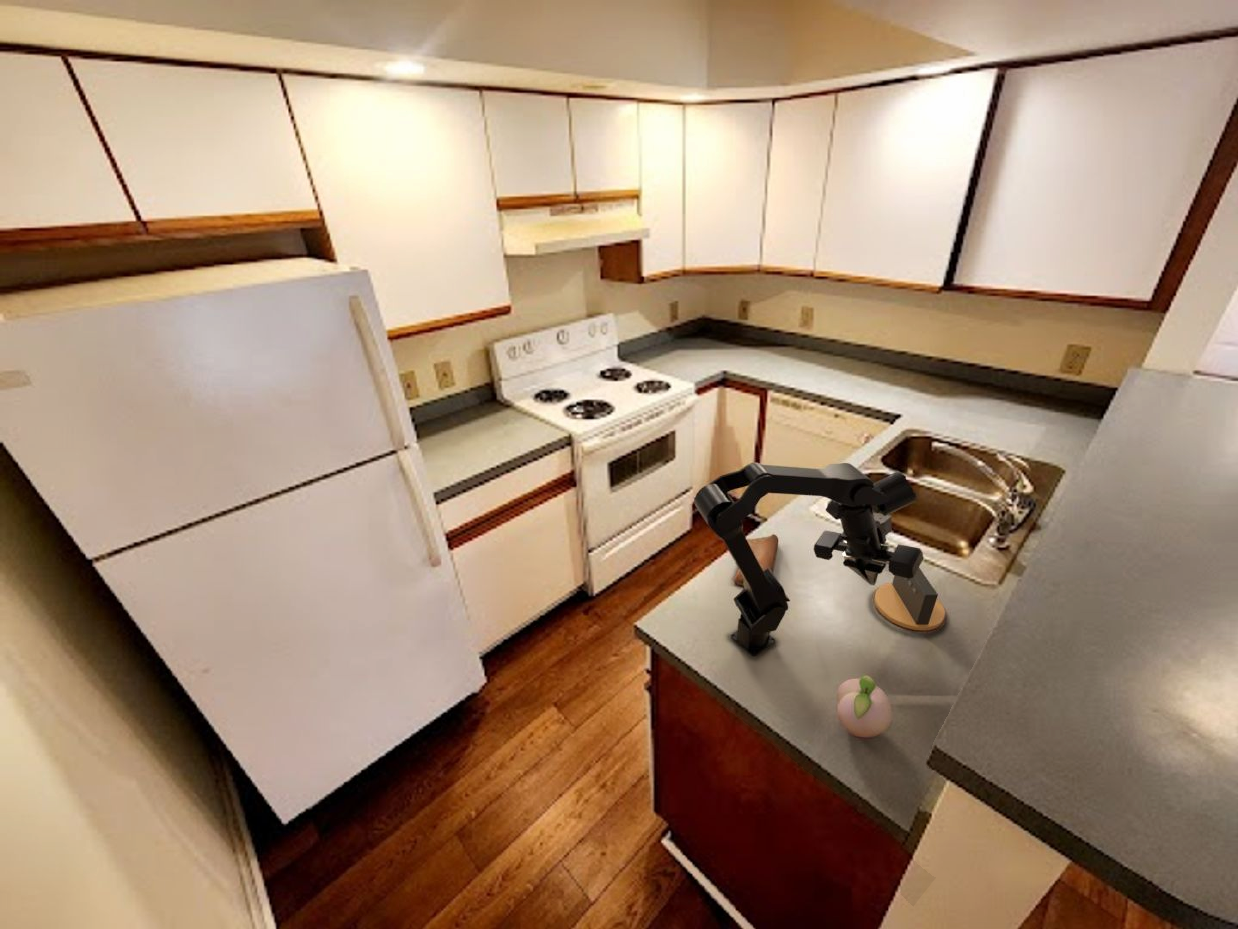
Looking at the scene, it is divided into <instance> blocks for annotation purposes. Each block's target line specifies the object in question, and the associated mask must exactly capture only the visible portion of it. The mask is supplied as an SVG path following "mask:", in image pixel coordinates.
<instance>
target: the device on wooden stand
mask: <svg viewBox="0 0 1238 929" xmlns="http://www.w3.org/2000/svg"><path fill="white" fill-rule="evenodd" d="M876 590H877V591H876ZM876 590H875V591H876V594H875V598H874V600H875V605H876V607H877V609H878V610H879V611H880V613H881V614H882V615H883V616H885V617H886V618H887V619H888V620H890V621H891V622H893V623H895V624H897V625H899V626H902V627H905V628H908V629H912V630H922V631H923V630H931V629H935V628H937V627H938V626H940V625H941V624H942V622H943V620H944V617H945V615H946V610H945V607H944V605H943V604H942V602H941V601H940V600H939V598H938V597H939V594H938V593H937V591H936V590H935V588H934V587H933V585H932V584H931V583H930V581H929V579H928V578H927V577H926V575H925V574H924V573H923V571H922V569H921V567H919V568H918V570H917V572H916V574H915V576H914V577H913V578H910V579H908V578H904V577H899V576H895V575H893V579H892V582H888V583H884V584H883V585H881V586H879V587H878V588H877V589H876Z"/></svg>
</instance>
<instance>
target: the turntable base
mask: <svg viewBox="0 0 1238 929" xmlns="http://www.w3.org/2000/svg"><path fill="white" fill-rule="evenodd" d="M877 590H878V589H876V590H875V591H874V593H873V595H872V598H871V599H872V606H873V607H874V609H875V611H876V612H877V613H878V615H880V617H882V619H884V620H885V621H887V622H888V623H890V624H891V625H893V626H894V627H897V628H900V629H903V630H905V631H909V632H914V633H932V632H935V631H938V630H940V629H941V628H942V627H943V626H944V625H945V624H946V621H947V615H946V614H945V617H944V620H943V622H942V624H941V625H940V626H938V627H937V628H935V629H931V630H923V631H922V630H912V629H908V628H905V627H902V626H899V625H897V624H895V623H893V622H891V621H890V620H888V619H887V618H886V617H885V616H883V615H882V614H881V613H880V611H879V610H878V609H877V607H876V605H875V600H874V598H875V594H876V591H877Z"/></svg>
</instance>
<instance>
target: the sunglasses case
mask: <svg viewBox="0 0 1238 929" xmlns="http://www.w3.org/2000/svg"><path fill="white" fill-rule="evenodd" d="M747 541H748V543H749V545H750V547H751V549H752V551H753V553H754V555H755V557H756V559H757V560H758V562H759V564H760V566H761V568H762V570H763V571H765V570H766V569H767V568H769V569H770V570H771V572H772V573H773V574H774V570H775V563H776V559H777V553H778V547H779V537H778V536H777V534H774V533H773V534H771V535H768V536H763V537H757V538H752V539H747ZM733 582H734V584H736V585H738V586H740V587H743V588H744V578H743V576H742V574H741V572H740V570H739V569H738V568H737V570H736V572H735V576H734V579H733Z"/></svg>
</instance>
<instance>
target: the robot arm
mask: <svg viewBox="0 0 1238 929" xmlns="http://www.w3.org/2000/svg"><path fill="white" fill-rule="evenodd" d="M745 487H746V489H745V490H744V492H742V494H741V496H740V497H739V498H738V499H737V500H736V501H734V500H733V499H732V497H731V496H730V495H729V492H730V491H734V490H738V489H742V488H745ZM768 494H780V495H793V496H795V495H796V496H811V497H822V498H825V499H829V500H831V502H830V504H828V505H827V506H826V508H825V512H826V513H827V514H829V515H830V516H831V517H832V518H833V519H834V520H836V521H838V520H840V524H841V527H842V530H843V531H842V533H841V532H836V531H830V530H824V531H822V533H821V535H819V537H818V539H817V540H816V542H815V543H814V545H813V552H814V556H815V557H816V558H818V559H822V560H827V561H830V560H831V559H832V558H833V557H834V556H833V555H834V554H833V552H834V551H838V552H843V553H842V554H841V556H842V558H843V559H844V560H843V562H842V564H843V566H844V567H846V568H849V570H851V571H853V572H854V573H855V574H856V575H858V576H859V577H861V578H862V579H863V580H864V581H865V582H866V583H867V584H868V585H870V586H875V585H876V583H877V580H878V577H879V575H880V574H882V573H883V572H884V570H885V568H886V566H887V568H888V572H890V574H892V575H893V576H894V575H895V576H899V577H904V578H908V579H910V578H913V577H914V576H915V574H916V572H917V570H918V568H920V566H921V564H922V562H923V560H924V553H923V551H922V548H920V547H915V546H909V545H904V544H897V545H896V547H895V549H894V551H890V546H889V545H885V544H886V542H887V537H886V536H887V535H889V534H891V533H892V532H893V530H892V515H890V514H892V513H895V512H896V511H899V510H901V509H903V508H905V507H907V506H909V505H912V504H913V503H916V501H917V495H916V492H915V491H914V489H913V487H912V486H911V483H909V481H908V480H907V476H906V475H905V474H904V473H902V472H901V471H899V470H896V471H895V472H893V473H891V474H890V475H888V476H886V477H883V478H882V479H880V480H878V481H876V482H874V481H873V480H872V479H871V478H869V476H867V475H865V474H864V473H863V472H862V471H861V470H859V469H858V468H857V467H856V466H854V465H853V464H851V463H849V462H841V463H839V462H838V463H830V464H828V465H826V466H825V467H823V468H809V467H800V466H799V467H798V466H797V467H796V466H787V465H786V466H785V465H770V464H762V463H760V462H750V463H748V464H747V465H745V466H744V467H742V468H740V469H738V470H735V471H732V472H729V473H728V472H727V473H725V474H722V475H720V476H719V477H717V478H715V479H714V480H713V481H711V482H709V483H708V484H706V485H704V486H702V487H701V488H700V489H699V490H698V491H697V492H696V494H695V497H694V498H693V501H694V505H695V507H696V509H697V510H698V512H699V514H700V515H701V517H702V518H703V520H704V521H705V523H706V524H707V525H708V527H709V528H710V530H711V531H712V532H713V533H714V534H715V535H716V536H717V537H718V538H719V539H720V540H722V542H723V544H724V545H725V547H726V549H727V551H728V552H729V554H730V556H731V558H732V560H733V562H734V564H735V565H736V567H737V570H738V569H739V570H740V572H741V574H742V576H743V578H744V587H743V589H742V590H741V591H740V592H739V593H738V594H737V595H735V597H733V602H734V604H735V607H736V608H737V609H738V610H739V612H740V617H739V618H738V620H737V630H736V631H734V632H733V633H731V634H730V639H732V640H733V641H734V642H735V643H736V644H738V646H740V647H741V648H742V649H743V650H745V652H747V654H749V655H750V656H751V657H756V656H758V655H760V654H761V653H762V652H764V651H765V650H766V649H768V648H770V647H771V646H772V645H774V644H775V643H776V639H775V638H774V637H773V636H772V635H771V632H775V631H777V629H778V628H779V626H780V624H781V622H782V620H783V618H784V616H786V611H788V610H789V603H788V602H790V601H791V600H790V597H788V595H787V594H786V593H785V589H784V587H783V585H782V584H781V582H780V581H779V580H778V579H777V577H776V576H775V574H774V572H773V573H772V572H771V570H770V569H769V568H767V569H766V570H765V571H763V570H762V568H761V566H760V564H759V562H758V560H757V559H756V557H755V555H754V553H753V551H752V549H751V547H750V545H749V543H748V541H747V540H748V539H747V538H746V536H745V534H744V531H743V529H744V521H743V520H744V519H745V518H747V517H749V516H750V515H751V514H752V513H753V511H754V509H755V508H756V507H757V505H758V503H759V502H760V501H761V499H762V498H763V497H765V496H766V495H768Z"/></svg>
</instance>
